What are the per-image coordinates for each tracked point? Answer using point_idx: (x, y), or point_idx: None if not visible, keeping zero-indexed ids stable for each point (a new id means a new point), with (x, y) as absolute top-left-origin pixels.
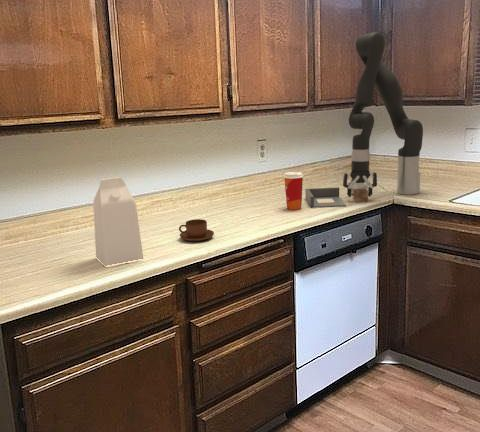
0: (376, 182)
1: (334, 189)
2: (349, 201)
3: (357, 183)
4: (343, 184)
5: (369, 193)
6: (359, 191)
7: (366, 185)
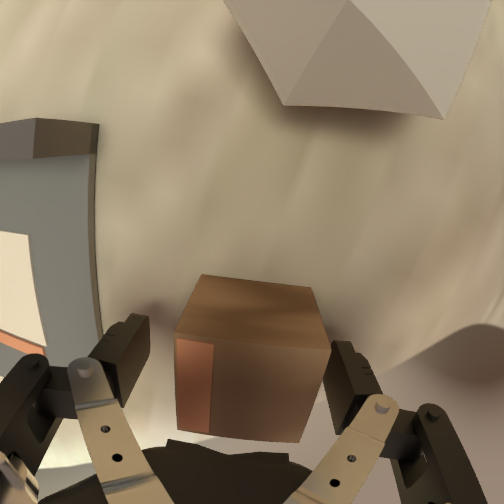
0: (418, 478)
1: (6, 159)
2: (152, 314)
3: (328, 55)
4: (21, 375)
5: (327, 395)
6: (210, 433)
7: (446, 113)
